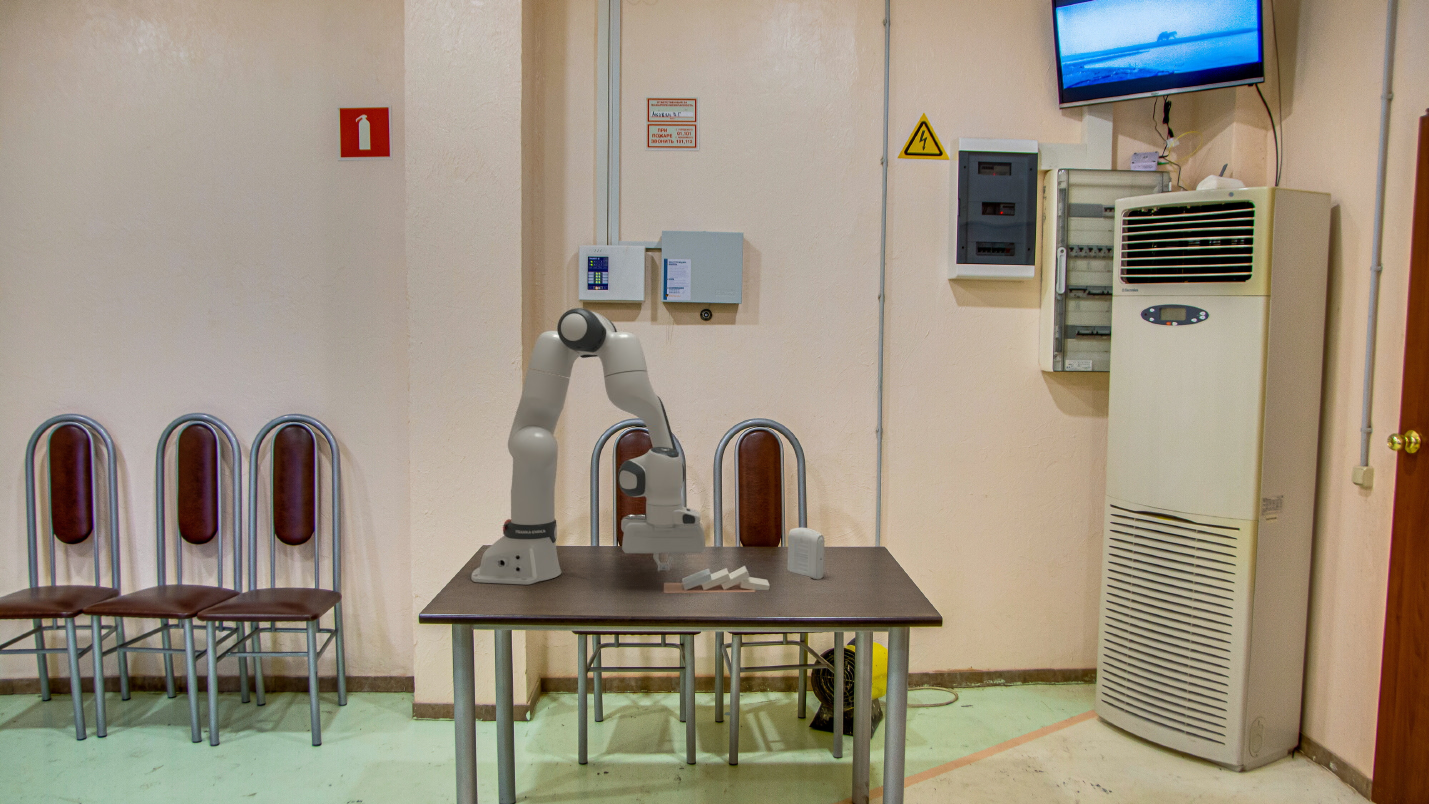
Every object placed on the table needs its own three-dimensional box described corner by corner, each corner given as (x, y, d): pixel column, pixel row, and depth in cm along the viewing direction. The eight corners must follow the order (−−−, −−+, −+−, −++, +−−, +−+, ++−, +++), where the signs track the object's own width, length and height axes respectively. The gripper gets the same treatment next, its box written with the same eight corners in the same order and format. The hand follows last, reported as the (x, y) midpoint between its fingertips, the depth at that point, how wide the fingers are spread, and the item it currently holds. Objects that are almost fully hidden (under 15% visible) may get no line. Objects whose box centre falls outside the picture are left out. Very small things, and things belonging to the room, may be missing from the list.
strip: (663, 595, 187) (663, 592, 187) (663, 585, 195) (664, 583, 195) (755, 594, 189) (755, 591, 189) (751, 584, 197) (751, 582, 196)
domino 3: (721, 584, 189) (746, 571, 190) (719, 578, 194) (744, 565, 195) (724, 590, 190) (749, 577, 190) (722, 584, 195) (747, 571, 195)
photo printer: (826, 577, 203) (827, 530, 203) (816, 580, 200) (817, 532, 200) (794, 569, 210) (795, 524, 210) (784, 572, 207) (785, 526, 207)
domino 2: (701, 584, 189) (728, 573, 189) (700, 578, 194) (726, 567, 194) (703, 590, 189) (730, 579, 190) (702, 584, 194) (729, 573, 194)
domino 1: (682, 584, 189) (709, 573, 189) (682, 578, 194) (708, 568, 194) (685, 590, 189) (712, 579, 190) (684, 584, 194) (710, 574, 194)
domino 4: (741, 581, 190) (769, 585, 190) (739, 575, 195) (767, 579, 195) (740, 587, 190) (768, 592, 190) (738, 581, 195) (766, 586, 195)
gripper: (620, 517, 186) (619, 574, 187) (706, 517, 188) (705, 574, 188) (621, 511, 193) (621, 567, 193) (705, 512, 194) (704, 567, 195)
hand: (663, 570), depth 191 cm, fingers closed
